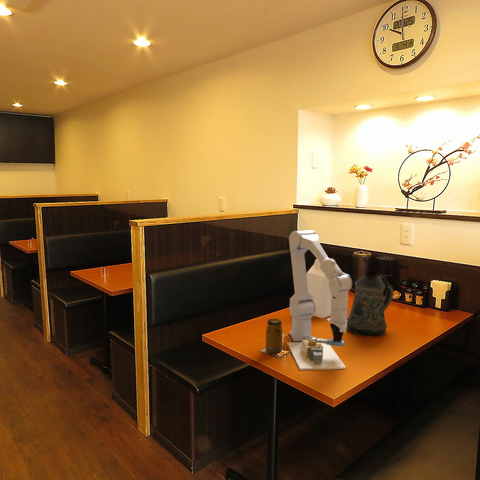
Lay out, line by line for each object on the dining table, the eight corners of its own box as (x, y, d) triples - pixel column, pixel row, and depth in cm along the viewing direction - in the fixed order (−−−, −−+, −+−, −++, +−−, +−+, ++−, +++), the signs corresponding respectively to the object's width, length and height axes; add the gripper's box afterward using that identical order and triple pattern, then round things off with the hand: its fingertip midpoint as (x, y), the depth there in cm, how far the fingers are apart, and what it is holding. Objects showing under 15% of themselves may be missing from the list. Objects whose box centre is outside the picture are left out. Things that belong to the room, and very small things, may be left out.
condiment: (272, 345, 159) (273, 316, 157) (290, 352, 153) (291, 321, 152) (260, 351, 154) (260, 320, 152) (278, 358, 148) (279, 326, 146)
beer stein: (339, 330, 176) (342, 273, 173) (360, 319, 190) (363, 266, 187) (375, 341, 165) (380, 280, 161) (395, 328, 179) (399, 272, 176)
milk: (302, 311, 200) (304, 259, 196) (316, 307, 208) (318, 256, 204) (322, 318, 191) (324, 263, 187) (336, 313, 199) (339, 260, 195)
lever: (307, 342, 149) (307, 339, 149) (308, 339, 152) (308, 335, 152) (343, 347, 146) (343, 343, 145) (343, 343, 149) (343, 340, 148)
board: (287, 343, 161) (287, 342, 161) (327, 343, 162) (327, 341, 162) (299, 370, 139) (299, 368, 139) (345, 368, 141) (345, 367, 141)
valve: (298, 344, 159) (299, 333, 158) (314, 344, 159) (314, 332, 159) (309, 364, 142) (310, 351, 141) (326, 364, 143) (327, 351, 142)
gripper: (323, 301, 154) (322, 335, 157) (332, 314, 140) (330, 352, 142) (342, 301, 154) (340, 336, 157) (353, 314, 140) (350, 352, 142)
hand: (337, 343), depth 149 cm, fingers closed, pressing on lever
